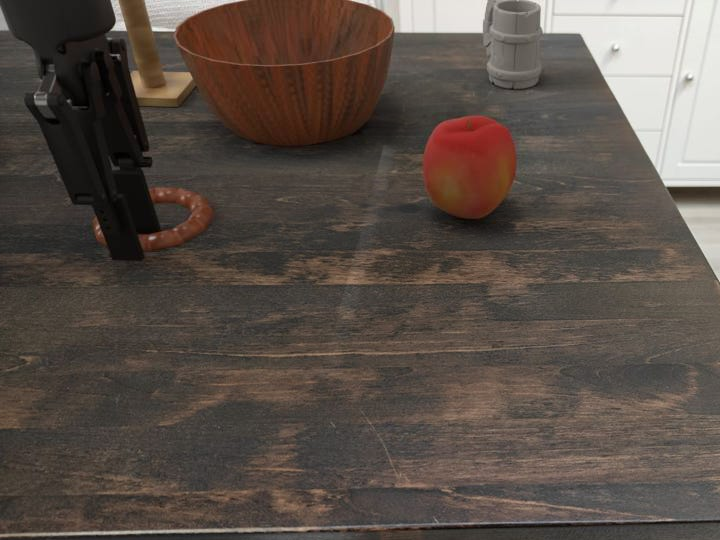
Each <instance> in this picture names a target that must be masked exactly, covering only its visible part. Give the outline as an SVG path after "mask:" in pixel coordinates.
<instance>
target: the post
mask: <svg viewBox="0 0 720 540" xmlns="http://www.w3.org/2000/svg"><path fill="white" fill-rule="evenodd" d="M117 2H118V5H119V8H120V11H121V12H120V13H121V15H122V19H123V22H124V26H125V29H126V33H127V36H128V41H129V44H130V48H131V50H132V55H133V58H134V62H135V65H136V69H137V70H132V71H131V72H130V74H131V78H132V82H133V86H134V89H135V93H136V97H137V101H138V104H139V107H162V108H163V107H164V108H166V107H167V108H180V106H181V105H182V104H183V102H185V100H186V99H187V98H188V97H189V95H191V93H192V92H193V90H194V89H195V88H196V87H197V86H196V84H195V82H194V80H193V78H192V76H191V74H190V72H189V71H164V70H163V65H162V62H161V59H160V54H159V50H158V47H157V41H156V39H155V36H154V32H153V31H154V30H153V28H152V24H151V20H150V16H149V12H148V8H147V5H146V1H145V0H117Z"/></svg>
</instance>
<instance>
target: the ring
mask: <svg viewBox="0 0 720 540" xmlns="http://www.w3.org/2000/svg"><path fill="white" fill-rule="evenodd" d="M148 189H149V192H150V195H151V199H152V202H153V204H157V203H159V204H161V203H162V204H163V203H164V204H176V205H180V206H181V207H185V208H187V209H188V211H189V212H190V215H189V216H188V219H187V220H185V221H183V222H182V223H179V224H178V225H176V226H175V227H173V228H170V229H166V230H161V232H157V233H152V234H138V237H139V241H140V244H141V247H142V250H143V252H153V251H159V250H162V249H166V248H170V247H174V246H178V245H182V244H184V243H186V242H187V241H189V240H191V239H194V237H196V236H198V235H200V234H201V233H203V232H204V231H206V230H207V228H208V227H209V225H210V223H211V221H212V220H213V217H214V216H215V213H214V211H213V209H212V207H211V205H210V204H209V201H208V199H207V198H206V197H205V196H204V195H202V194H199V193H197V192H195V191H192V190H189V189H186V188H183V187H163V186H162V187H160V186H157V187H152V188H148ZM92 228H93V229H92V230H93V232H94V237H95V239H96V241H97V242H98V243H100V244H102V245H104V246H107V244H106V241H105V238H104V236H103V233H102V231H101V228H100V225H99V223H98V220H97V217H96V216H95V217H94V218H93V220H92Z"/></svg>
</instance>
